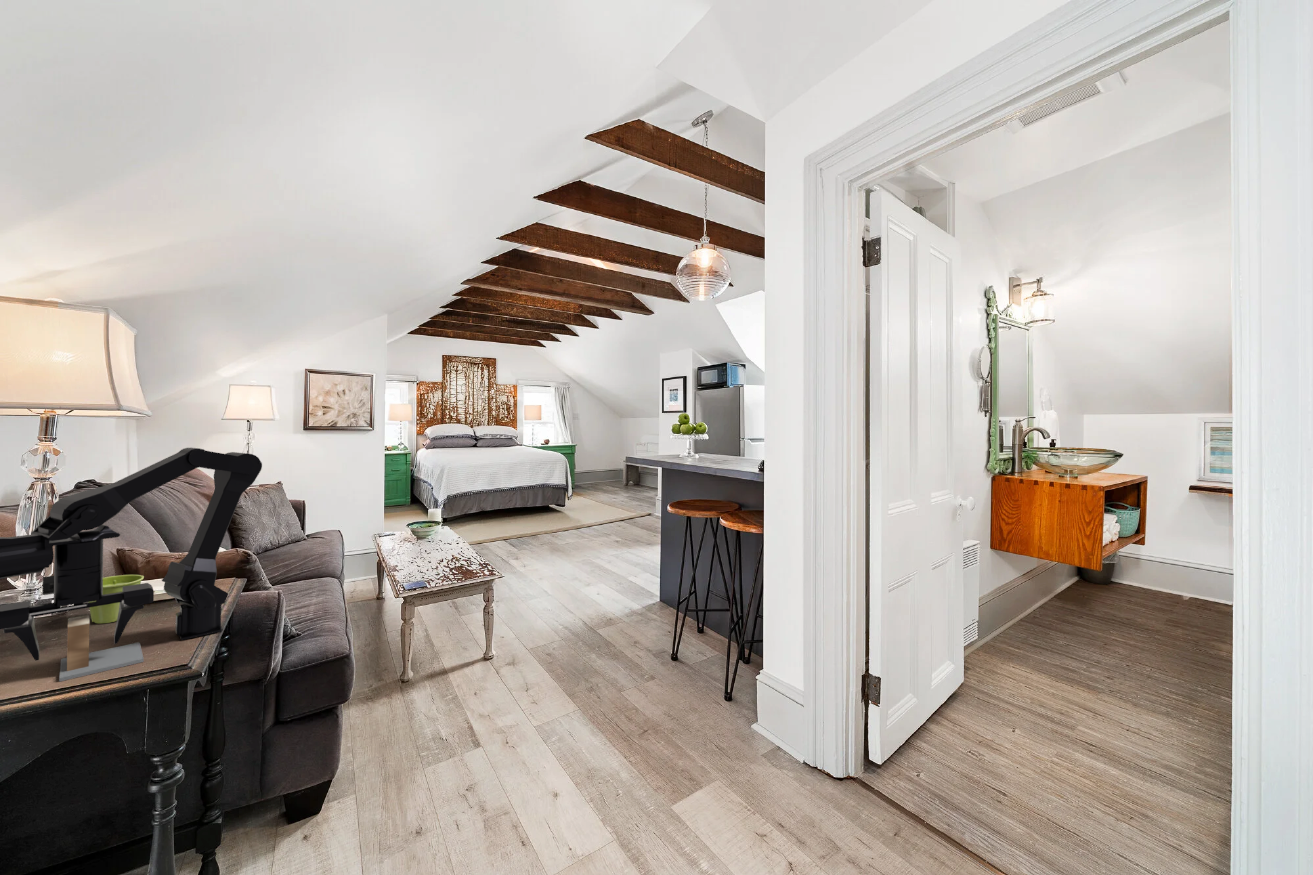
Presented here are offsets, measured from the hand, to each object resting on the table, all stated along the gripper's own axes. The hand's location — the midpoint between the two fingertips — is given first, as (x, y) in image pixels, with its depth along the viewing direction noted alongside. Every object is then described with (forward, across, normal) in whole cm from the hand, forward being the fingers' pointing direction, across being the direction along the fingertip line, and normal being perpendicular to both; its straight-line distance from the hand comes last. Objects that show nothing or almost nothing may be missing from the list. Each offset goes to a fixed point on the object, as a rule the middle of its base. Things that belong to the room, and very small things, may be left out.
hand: (78, 651), depth 89 cm
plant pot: (+3, -5, -27) cm, 28 cm away
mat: (+3, -3, 0) cm, 4 cm away
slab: (+2, 0, 0) cm, 2 cm away
